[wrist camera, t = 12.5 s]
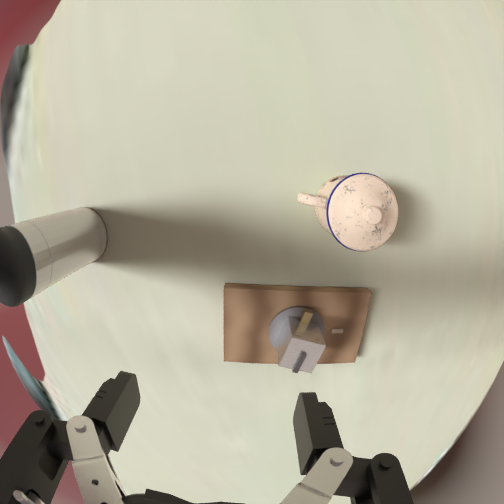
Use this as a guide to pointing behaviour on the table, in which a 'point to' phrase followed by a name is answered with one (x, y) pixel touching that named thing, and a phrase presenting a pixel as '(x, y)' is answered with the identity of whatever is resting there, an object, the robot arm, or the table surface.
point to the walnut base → (292, 305)
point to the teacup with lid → (356, 210)
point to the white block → (300, 344)
